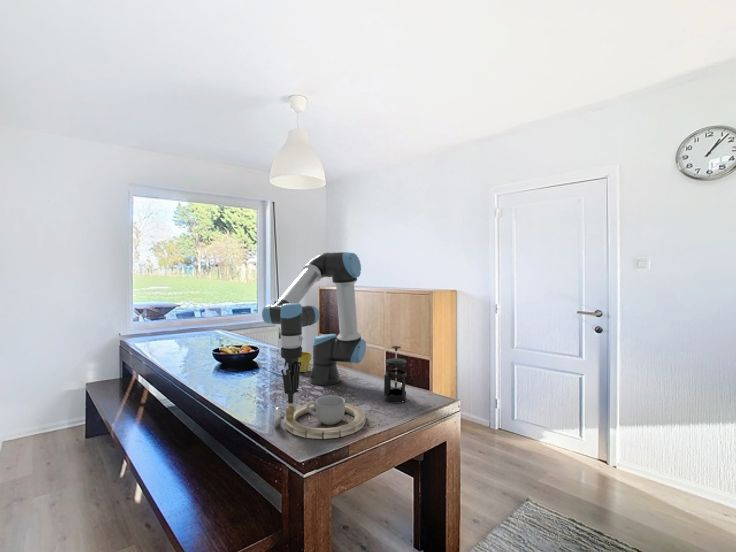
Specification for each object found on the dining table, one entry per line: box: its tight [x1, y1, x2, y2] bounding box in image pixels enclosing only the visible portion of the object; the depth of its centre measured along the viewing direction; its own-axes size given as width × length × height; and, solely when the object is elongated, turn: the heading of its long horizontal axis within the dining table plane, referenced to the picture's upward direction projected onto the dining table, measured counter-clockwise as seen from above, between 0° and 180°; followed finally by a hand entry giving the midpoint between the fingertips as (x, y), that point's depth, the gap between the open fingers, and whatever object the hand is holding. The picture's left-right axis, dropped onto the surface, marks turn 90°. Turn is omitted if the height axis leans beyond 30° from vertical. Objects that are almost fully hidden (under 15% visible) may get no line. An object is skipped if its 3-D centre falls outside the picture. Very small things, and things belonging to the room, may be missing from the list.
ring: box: [284, 402, 367, 440], centre depth 137 cm, size 29×29×6 cm
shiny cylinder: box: [273, 406, 285, 430], centre depth 132 cm, size 2×3×7 cm
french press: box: [383, 345, 408, 403], centre depth 161 cm, size 12×9×23 cm
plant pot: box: [298, 351, 312, 373], centre depth 207 cm, size 10×10×10 cm
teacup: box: [306, 394, 346, 426], centre depth 138 cm, size 14×11×8 cm
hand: (291, 410), depth 136 cm, fingers closed
